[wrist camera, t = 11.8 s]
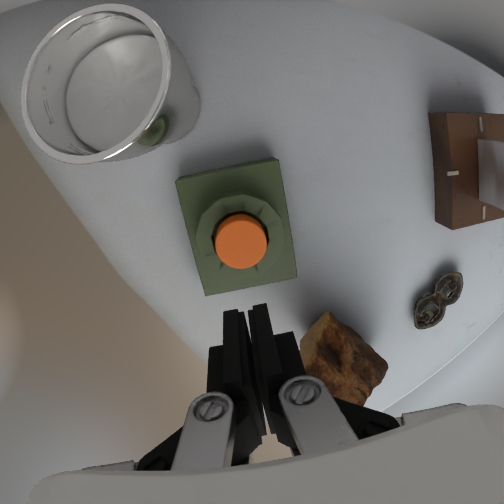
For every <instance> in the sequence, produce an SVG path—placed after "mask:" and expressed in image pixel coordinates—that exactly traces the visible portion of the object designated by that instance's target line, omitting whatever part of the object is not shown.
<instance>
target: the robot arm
mask: <svg viewBox="0 0 504 504" xmlns="http://www.w3.org/2000/svg"><path fill="white" fill-rule="evenodd" d="M248 317H249V325H250V334H251V339H250V335H249V331H248V327H247V323H246V319H245V315H244V311H243V312H238V309H234V310H229V311H224V312H223V345H220V346H214V347H210V348H209V358H208V375H207V393H205V394H202V395H200V396H199V397H197V398H196V399H195V400H194V401H193V402H192V403H191V404H190V406H189V409H188V412H187V415H186V419H185V422H184V426H182V427H181V428H180V429H179V430H178V431H176V432H175V433H174V434H172V435H171V436H170V437H168V438H167V439H166V440H165V441H164V442H162V443H161V444H159V445H158V446H157V447H155V448H154V449H153V450H152V451H151V452H149V453H148V454H146V455H145V456H144V457H143V458H142V459H141V460H140V461H139V462H137V463H135V462H134V461H133V460H131V461H126V462H120V463H114V464H108V465H101V466H94V467H87V468H84V469H82V470H76V471H67V472H62V473H58V474H54V475H51V476H48V477H46V478H44V479H42V480H41V481H39V482H38V483H37V484H36V485H35V487H34V488H33V490H32V491H31V493H30V495H29V497H28V499H27V502H26V504H504V408H502V407H500V406H496V405H472V406H466V405H465V404H461V403H454V404H449V405H444V406H440V407H435V408H430V409H425V410H420V411H415V412H409V413H404V414H402V416H401V417H397V418H394V417H392V416H390V415H388V414H385V413H382V412H379V411H375V410H372V409H369V408H366V407H363V406H360V405H357V404H354V403H351V402H348V401H345V400H342V399H339V398H336V397H333V396H331V394H330V392H329V391H328V389H327V387H326V386H325V384H324V383H323V382H322V381H321V380H320V379H318V378H316V377H313V376H307V374H306V371H305V368H304V365H303V362H302V358H301V355H300V352H299V349H298V346H297V342H296V339H295V336H294V333H293V331H291V332H287V333H282V334H277V335H273V331H272V326H271V322H270V317H269V313H268V308H267V304H266V303H264V304H259V305H254V306H253V310H248ZM251 342H252V343H251ZM262 403H263V404H262ZM263 406H264V410H265V413H266V417H267V421H268V424H269V428H270V431H271V434H275V433H276V435H277V439H278V442H280V443H282V444H284V445H286V446H288V447H290V450H291V453H292V456H293V457H289V458H284V459H279V460H273V461H267V462H261V463H254V464H253V453H252V452H253V451H254V450H255V449H256V448H257V447H258V446H259V445H260V444H262V438H261V436H264V435H267V433H266V426H265V418H264V411H263Z"/></svg>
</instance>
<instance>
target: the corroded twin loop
mask: <svg viewBox="0 0 504 504" xmlns="http://www.w3.org/2000/svg"><path fill="white" fill-rule="evenodd" d="M446 285H447V286H446ZM445 286H446V287H447V288H448V289H449V290H450V291H451V293H450V294H449V296H448V297H447V296H446V294H444V293H443V289H444V288H445ZM462 288H463V277H462V274H461V273H459V272H451V273H447V274H445V275H442V276H440V277H439V278H438V279H437V280H436V282H435V285H434V294H433V295H432V294H428V295H426V296H424V297H421V298H420V299H419V300H418V301H417V303H416V307H415V313H414V324H415V327H416V328H417V329H426V328H429V327H432V326H435V325H436V324H437V323H439V322H440V321H441V320H442V319H443V317H444V314H445V310H446V306H447V305H450V304H453V303H455V302H456V301H457V300H458V298H459V297H460V294H461V291H462ZM431 303H432V304H433V305H434V306H435V307H436V308H437V310H435V311H434V313H432V312H431V311H429V310H428V311H425V310H426V309H427V308H428V307H429V305H430V304H431Z"/></svg>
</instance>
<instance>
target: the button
mask: <svg viewBox="0 0 504 504" xmlns="http://www.w3.org/2000/svg"><path fill="white" fill-rule="evenodd" d="M266 248H267V239H266V236H265V233H264V230H263V228H262V226H261V224H260V223H259V222H258V221H257V220H256V219H255V218H253V217H251V216H249V215H244V214H237V215H232V216H230V217H228V218H226V219H225V220H224V221H223V222H222V223H221V224H220V225H219V227H218V229H217V233H216V240H215V249H216V252H217V255H218V257H219V258H220V259H221V261H222V262H224V263H225V264H226V265H228V266H230V267H233V268H238V269H244V268H249V267H251V266H253V265H255V264H257V263H258V262H259V261H260V260H261V259H262V258H263V256H264V254H265V252H266Z"/></svg>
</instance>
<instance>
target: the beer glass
mask: <svg viewBox="0 0 504 504" xmlns="http://www.w3.org/2000/svg"><path fill="white" fill-rule="evenodd" d="M200 108H201V103H200V97H199V94H198V92H197V90H196V88H195V86H194V85H193V82H192V76H191V72H190V69H189V66H188V64H187V62H186V59H185V57H184V55H183V53H182V52H181V50H180V49H179V48H178V46H177V45H176V44H175V42H174V41H173V40H172V39H171V38H170V37H169V36H168V35H167V34H166V33H165V32H164V31H163V30H162V29H161V28H160V26H159V25H158V24H157V23H156V22H155V21H154V20H153V19H152V18H151V17H150V16H149V15H147V14H146V13H144V12H143V11H141V10H139V9H137V8H134V7H131V6H128V5H123V4H100V5H95V6H91V7H88V8H85V9H83V10H80V11H78V12H76V13H74V14H72V15H71V16H69V17H67V18H66V19H64V20H63V21H61V22H60V23H59V24H58V25H56V26H55V27H54V28H53V29H52V30H51V31H50V32H49V33H48V34H47V35H46V36H45V37H44V39H43V40H42V41H41V43H40V44H39V45H38V47H37V48H36V50H35V52H34V53H33V55H32V57H31V59H30V61H29V63H28V66H27V68H26V71H25V75H24V78H23V83H22V89H21V109H22V116H23V120H24V123H25V126H26V129H27V131H28V133H29V135H30V136H31V138H32V140H33V141H34V142H35V144H36V145H37V146H38V147H39V148H40V149H41V150H42V151H43V152H45V153H46V154H47V155H49V156H51V157H52V158H54V159H57V160H59V161H62V162H65V163H70V164H91V163H96V162H113V161H120V160H126V159H131V158H135V157H138V156H141V155H143V154H146V153H148V152H151V151H153V150H155V149H157V148H158V147H160V146H161V145H163V144H169V143H173V142H176V141H178V140H180V139H182V138H183V137H185V136H186V135H187V134H188V133H189V132H190V131H191V130H192V129H193V127H194V126H195V124H196V122H197V120H198V118H199V114H200Z"/></svg>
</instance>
